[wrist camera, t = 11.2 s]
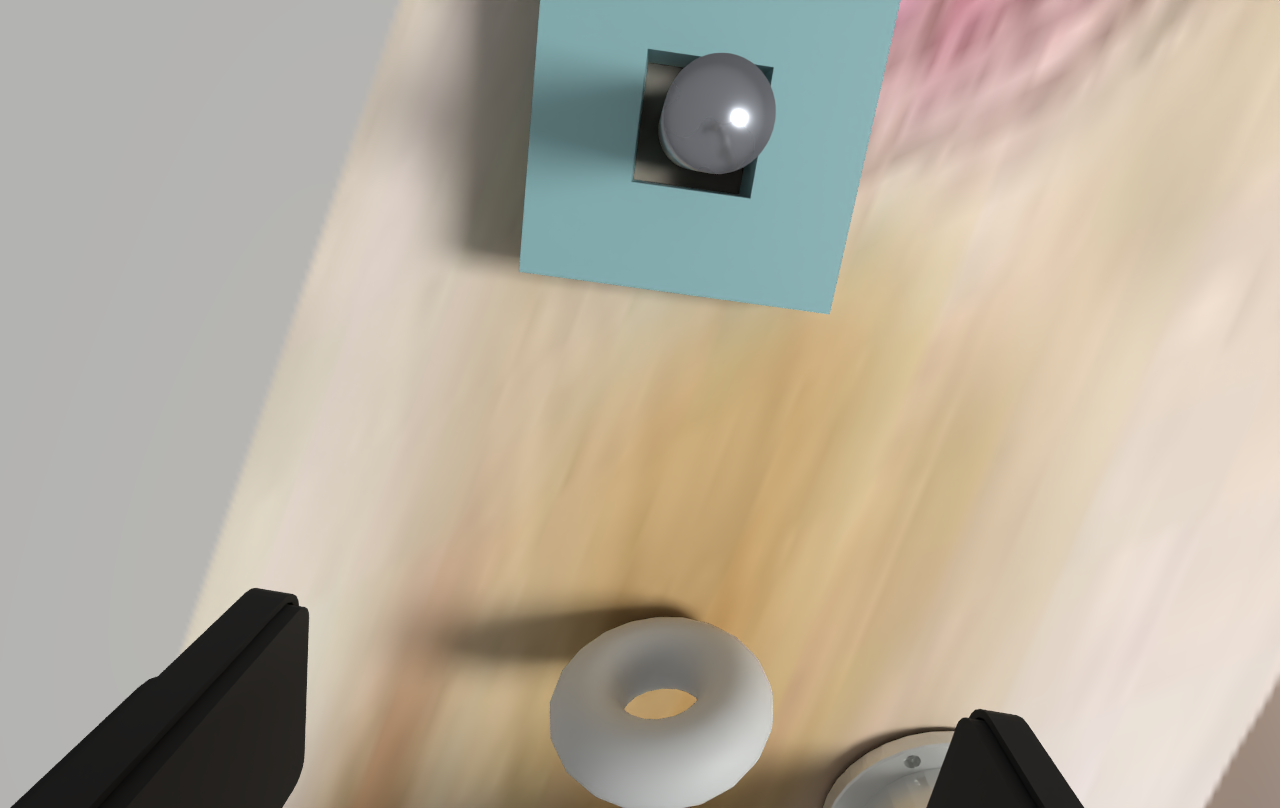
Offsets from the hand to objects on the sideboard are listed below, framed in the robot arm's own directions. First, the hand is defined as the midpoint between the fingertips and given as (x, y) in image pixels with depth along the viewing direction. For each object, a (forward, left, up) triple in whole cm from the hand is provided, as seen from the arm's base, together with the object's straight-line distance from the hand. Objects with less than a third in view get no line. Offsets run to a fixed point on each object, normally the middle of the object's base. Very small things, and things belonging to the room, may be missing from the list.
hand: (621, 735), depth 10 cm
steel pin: (-1, -9, -22) cm, 24 cm away
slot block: (-1, -9, -22) cm, 24 cm away
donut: (-3, +15, -23) cm, 27 cm away
